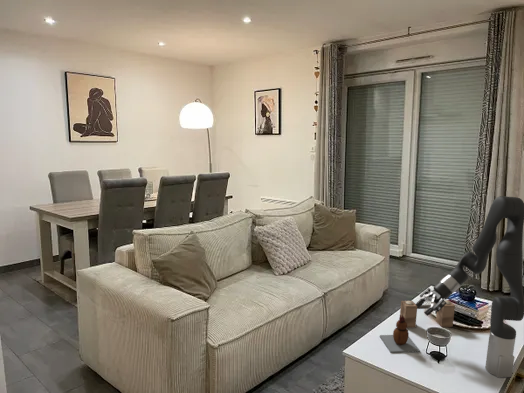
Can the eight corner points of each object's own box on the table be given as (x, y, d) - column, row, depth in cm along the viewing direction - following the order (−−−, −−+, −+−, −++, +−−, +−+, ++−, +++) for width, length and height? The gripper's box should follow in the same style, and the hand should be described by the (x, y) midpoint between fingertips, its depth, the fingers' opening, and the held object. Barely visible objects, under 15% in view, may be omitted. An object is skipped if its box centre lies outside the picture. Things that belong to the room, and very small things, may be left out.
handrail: (452, 326, 203) (455, 304, 201) (404, 327, 201) (406, 305, 199) (446, 321, 209) (448, 299, 207) (399, 322, 207) (401, 299, 205)
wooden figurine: (397, 347, 182) (399, 317, 179) (390, 340, 187) (392, 311, 185) (409, 345, 183) (412, 316, 181) (402, 339, 189) (405, 310, 186)
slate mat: (420, 352, 179) (420, 350, 179) (390, 352, 178) (390, 351, 178) (407, 336, 193) (407, 334, 193) (379, 336, 192) (379, 335, 192)
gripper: (433, 275, 188) (409, 298, 189) (450, 287, 174) (423, 311, 175) (443, 286, 190) (418, 308, 190) (460, 298, 175) (433, 322, 176)
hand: (421, 310), depth 183 cm, fingers open, 8 cm apart
